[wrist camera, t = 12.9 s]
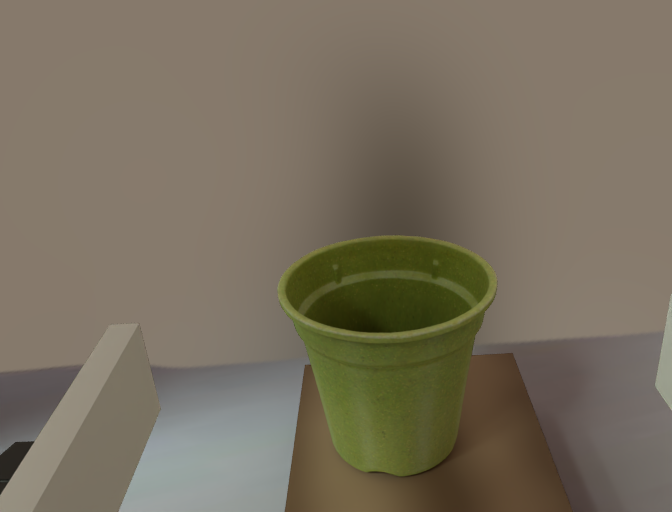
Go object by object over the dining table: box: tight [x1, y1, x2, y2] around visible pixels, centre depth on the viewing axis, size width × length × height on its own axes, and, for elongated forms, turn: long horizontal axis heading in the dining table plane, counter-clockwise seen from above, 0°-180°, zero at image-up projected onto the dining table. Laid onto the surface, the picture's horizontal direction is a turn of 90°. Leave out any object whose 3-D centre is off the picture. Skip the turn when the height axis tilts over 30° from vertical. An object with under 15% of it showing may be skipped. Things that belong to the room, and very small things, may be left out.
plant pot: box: [277, 235, 497, 477], centre depth 29 cm, size 9×9×9 cm
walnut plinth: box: [285, 353, 573, 512], centre depth 32 cm, size 13×13×4 cm
